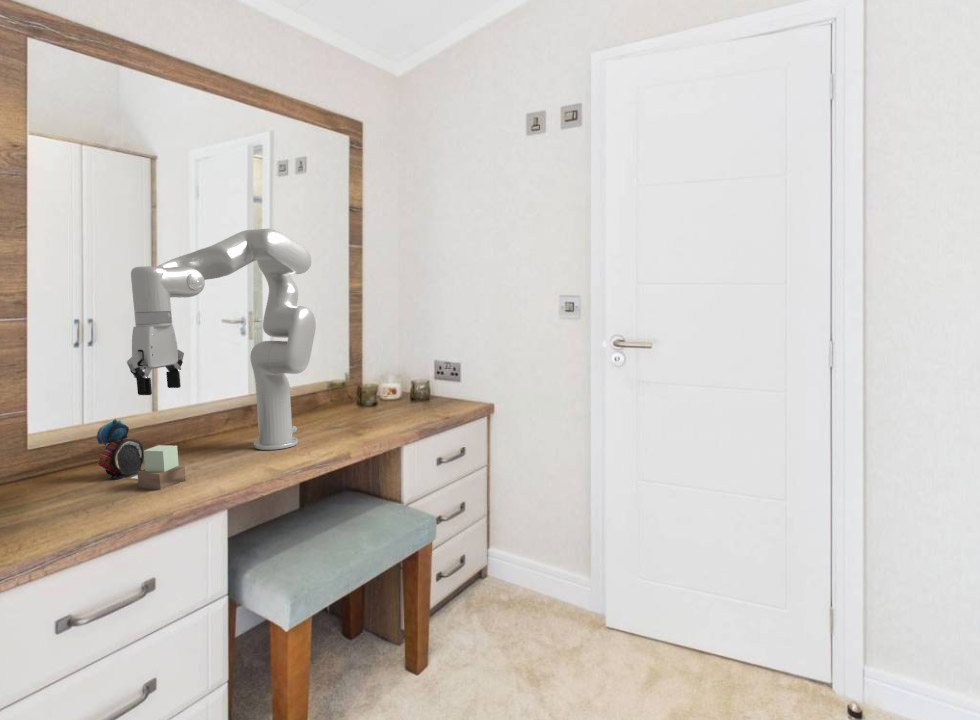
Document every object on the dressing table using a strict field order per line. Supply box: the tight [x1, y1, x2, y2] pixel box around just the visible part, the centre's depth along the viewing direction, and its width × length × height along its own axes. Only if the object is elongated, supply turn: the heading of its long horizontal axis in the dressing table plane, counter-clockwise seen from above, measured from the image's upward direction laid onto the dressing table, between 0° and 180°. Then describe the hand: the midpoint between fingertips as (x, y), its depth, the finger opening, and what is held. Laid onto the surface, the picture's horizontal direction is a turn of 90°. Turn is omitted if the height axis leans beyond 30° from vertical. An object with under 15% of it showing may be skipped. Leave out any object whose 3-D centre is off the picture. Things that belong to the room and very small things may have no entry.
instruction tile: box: [130, 474, 138, 481], centre depth 145 cm, size 8×5×1 cm, turn 171°
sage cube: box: [143, 444, 179, 472], centre depth 138 cm, size 5×5×5 cm
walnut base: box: [136, 464, 186, 491], centre depth 138 cm, size 7×7×4 cm
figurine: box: [96, 417, 144, 481], centre depth 145 cm, size 10×7×15 cm
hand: (160, 391), depth 137 cm, fingers open, 9 cm apart
